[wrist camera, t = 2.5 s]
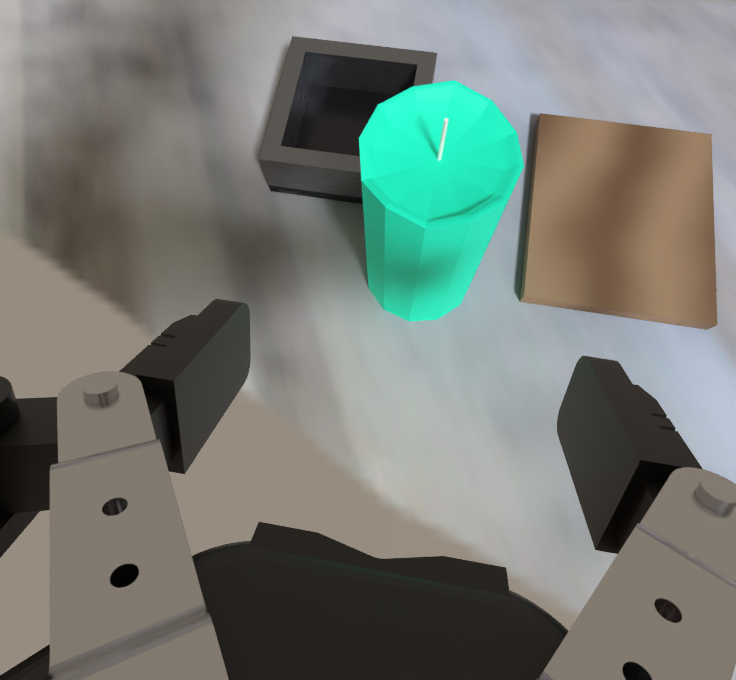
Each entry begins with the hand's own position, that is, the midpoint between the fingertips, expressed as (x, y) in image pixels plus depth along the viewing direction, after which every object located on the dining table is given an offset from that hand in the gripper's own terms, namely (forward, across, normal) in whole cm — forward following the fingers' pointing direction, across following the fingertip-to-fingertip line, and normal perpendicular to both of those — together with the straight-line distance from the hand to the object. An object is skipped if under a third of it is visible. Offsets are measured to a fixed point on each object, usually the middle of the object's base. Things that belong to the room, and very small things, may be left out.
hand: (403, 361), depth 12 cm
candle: (+16, 0, +4) cm, 16 cm away
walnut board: (+19, -11, 0) cm, 22 cm away
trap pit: (+22, +5, -2) cm, 22 cm away
